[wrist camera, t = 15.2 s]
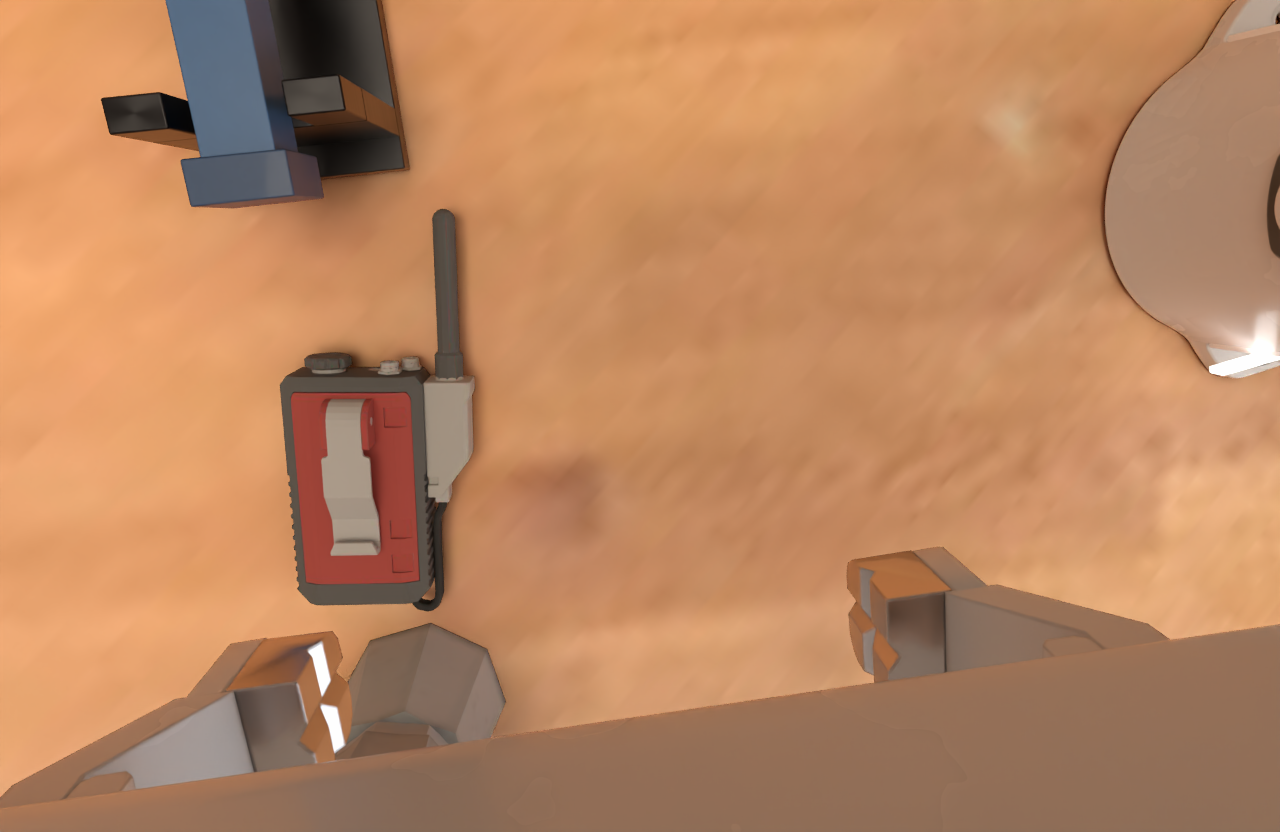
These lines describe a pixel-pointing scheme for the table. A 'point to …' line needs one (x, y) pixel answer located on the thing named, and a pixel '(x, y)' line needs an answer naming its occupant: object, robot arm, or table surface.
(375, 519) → the walkie-talkie
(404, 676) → the coffee maker
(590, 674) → the table surface
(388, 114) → the holder
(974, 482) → the table surface
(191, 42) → the handle
